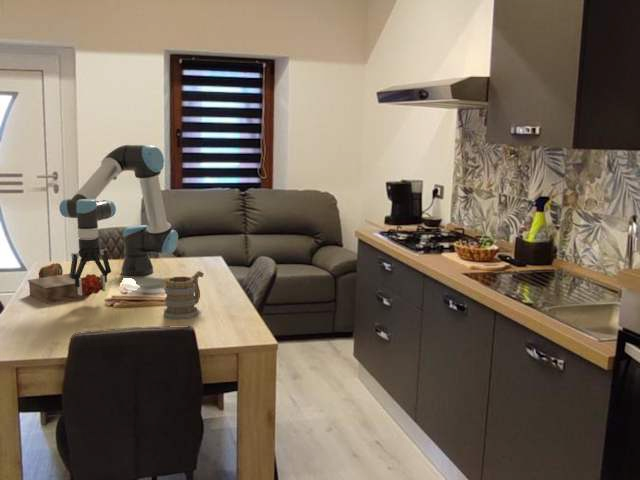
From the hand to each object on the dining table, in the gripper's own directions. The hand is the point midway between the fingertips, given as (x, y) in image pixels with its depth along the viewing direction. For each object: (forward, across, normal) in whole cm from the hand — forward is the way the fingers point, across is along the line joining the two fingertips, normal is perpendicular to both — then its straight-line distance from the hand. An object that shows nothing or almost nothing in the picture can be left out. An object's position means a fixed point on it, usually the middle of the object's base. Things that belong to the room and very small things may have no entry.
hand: (91, 292), depth 264 cm
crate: (+6, +6, -22) cm, 23 cm away
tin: (+6, 0, -47) cm, 47 cm away
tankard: (+5, -24, +33) cm, 42 cm away
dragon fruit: (+1, 0, 0) cm, 1 cm away
